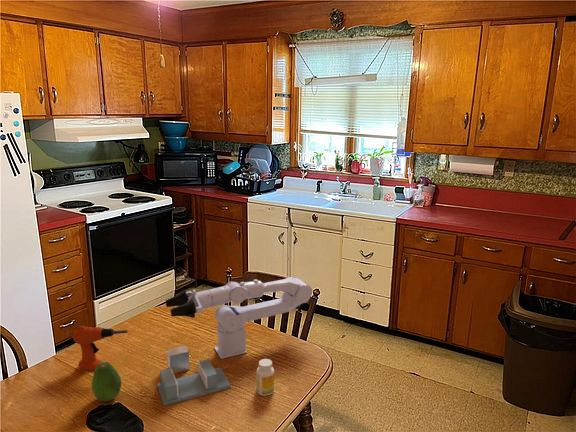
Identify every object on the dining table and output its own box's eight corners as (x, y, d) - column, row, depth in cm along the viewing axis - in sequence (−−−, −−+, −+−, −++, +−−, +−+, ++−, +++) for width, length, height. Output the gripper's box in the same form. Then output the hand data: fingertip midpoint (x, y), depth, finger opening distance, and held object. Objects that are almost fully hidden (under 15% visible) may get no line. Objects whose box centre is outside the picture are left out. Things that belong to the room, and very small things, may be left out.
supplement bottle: (253, 392, 131) (252, 364, 128) (262, 383, 135) (262, 355, 133) (268, 398, 128) (268, 369, 126) (277, 388, 133) (277, 360, 130)
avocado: (87, 403, 125) (83, 366, 122) (108, 388, 132) (104, 352, 129) (108, 411, 122) (104, 373, 119) (128, 394, 129) (125, 358, 126)
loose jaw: (209, 371, 139) (208, 358, 138) (217, 386, 132) (216, 373, 130) (198, 373, 138) (197, 361, 137) (206, 389, 130) (205, 376, 129)
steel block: (186, 363, 146) (185, 345, 144) (189, 369, 142) (188, 351, 141) (168, 367, 143) (167, 349, 142) (170, 374, 140) (169, 355, 138)
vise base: (220, 370, 142) (220, 355, 140) (230, 387, 133) (230, 371, 132) (157, 386, 133) (156, 370, 132) (163, 406, 124) (162, 389, 123)
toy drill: (131, 369, 139) (122, 326, 136) (76, 372, 141) (65, 330, 138) (138, 360, 144) (128, 319, 141) (84, 364, 146) (74, 323, 143)
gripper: (202, 280, 151) (162, 288, 145) (214, 294, 138) (171, 305, 132) (204, 298, 152) (164, 308, 147) (216, 315, 140) (174, 326, 134)
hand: (168, 308), depth 140 cm, fingers open, 7 cm apart
